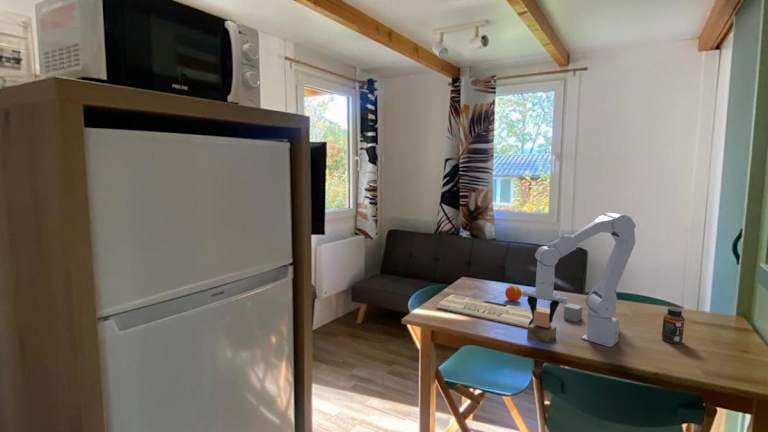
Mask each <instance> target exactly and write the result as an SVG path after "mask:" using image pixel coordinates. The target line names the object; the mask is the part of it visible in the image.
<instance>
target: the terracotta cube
mask: <svg viewBox="0 0 768 432" xmlns="http://www.w3.org/2000/svg"><path fill="white" fill-rule="evenodd" d="M549 316H550V308H547V307H542V306H536V309H535V310H534V319H533V318H532V319H533V321H532V322H533V323H532V324H533V325H537V326H542V327H547V328H549V326H550V325H552V322H551V323H550V322H549Z"/></svg>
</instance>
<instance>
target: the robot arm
mask: <svg viewBox="0 0 768 432" xmlns="http://www.w3.org/2000/svg"><path fill="white" fill-rule="evenodd" d="M636 226H637V224H636V223H635V221H634V219H632V217H630V216H629V215H626V214H621V213H616V212H613V211H608V212H606V213H604V214H603V215H600V216H598V217H597V218H595V220H593V221H592V222H590V223H589V224H587V225H586V226H583V227H582V228H581V229H579V230H578V231H576V232H575V233H573V234H571V235H570V234H565V235H563V234H561V235H559V236H558V237H559V238H558V239H556V240H554V241H552V242H548V243H547V244H546V245H545V246H544V245H541V246H540V247H539V248H538V249H537V250H536V252H535V254H534V256H535V259H536V261H537V262H536V263H537V264H536V273H535V275H536V276H535V290H528V289H527V290H526V289H523V290H521V292H522V295H521V298H522V297H523V298H525V297H526V298H527V299H526V302H527V304H528V306H529V309H531V312H532V319H534V310H535V309H536V308H537V307H538V306H537V305H538V300H542V301H543V300H544V301H548V302H550V303H549V309H550V316H549V322H550V323H551V324H552V322H553V319H554V316H555V313H556V311H557V309H558V307H559V306H560V304H562V305H567V303H568V296H562V295H559V294H555V293H554V286H555V271H556V269H555V266H556V264H557V263H558V262H559V259H561V258H563V257H565V256H566V255H568V254H570V253H571V252H573V251H576V249H577V248H578V245H579V244H580V243H582V242H584V241H586V240H588V239H590V238H591V237H593V236H596V235H598V234H600V233H603V234H605V233H607V234H610V235H611V237H612V239H613V241H615V244H614V246H613V249H612V250H611V252H610V255H609V258H608V260H607V263H606V264H605V267H604V270H603V273H602V275H601V277H600V280H599V282H598V284H597V285H595V286H593V287H592V289H591V291H590V293H588V294H587V296H586V297H585V304H586V306H587V308H588V311H587V320H586V333H585V334H584V335H583V336H581V339H582V340H584V341H585V340H586V341H589V342H592V343H595V344H598V345H602V346H605V347H607V348H608V347H609V348H612V347H613V346H614V345H615V344H617V342H618V341H619V331H620V321H619V319H618V318H617V317H614V315H615V313H616V310H617V306H616V304H617V300H618V297H617V288H618V285H619V283H620V281H621V278H622V276H623V274H624V271H625V269H626V266H627V264H628V262H629V260H630V256H631V254H632V252H633V250H634V247H635V244H636V233H635V229H636ZM615 291H616V293H615ZM612 316H613V317H612Z"/></svg>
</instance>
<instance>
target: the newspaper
mask: <svg viewBox="0 0 768 432" xmlns="http://www.w3.org/2000/svg"><path fill="white" fill-rule="evenodd" d="M436 309H439V310H443V311H449V312H453V313H458V314H461V315H467V316H472V317H476V318H479V319H480V318H481V319H485V320H490V321H494V322H498V323H499V322H500V323H503V324H509V325H512V326H517V327H522V328H526V329H528V326H529V325H530V322H531V321H532V319H533V318H532V312H531V309H530V308H526V307H520V306H514V305H511V304H510V305H509V304H505V303H499V302H494V301H489V300H485V299H479V298H474V297H470V296H469V297H468V296H463V295H458V294H450V295H449V296H447V297H445V298H444V299H442V300H441V301H440V302H438V304H437V305H436Z"/></svg>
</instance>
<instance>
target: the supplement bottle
mask: <svg viewBox="0 0 768 432" xmlns="http://www.w3.org/2000/svg"><path fill="white" fill-rule="evenodd" d="M682 314H683V310H682V309H681V308H677V307H672V306H671V307H667V312H666V313H664V315H663V321H662V329H661V339H662V340H663V341H665V342H667V343H671V344H675V343H679V344H681V343H683V340H684V339H683V338H684V330H685V329H684V328H685V320H686V319H685V317H684V316H683V315H682Z"/></svg>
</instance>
